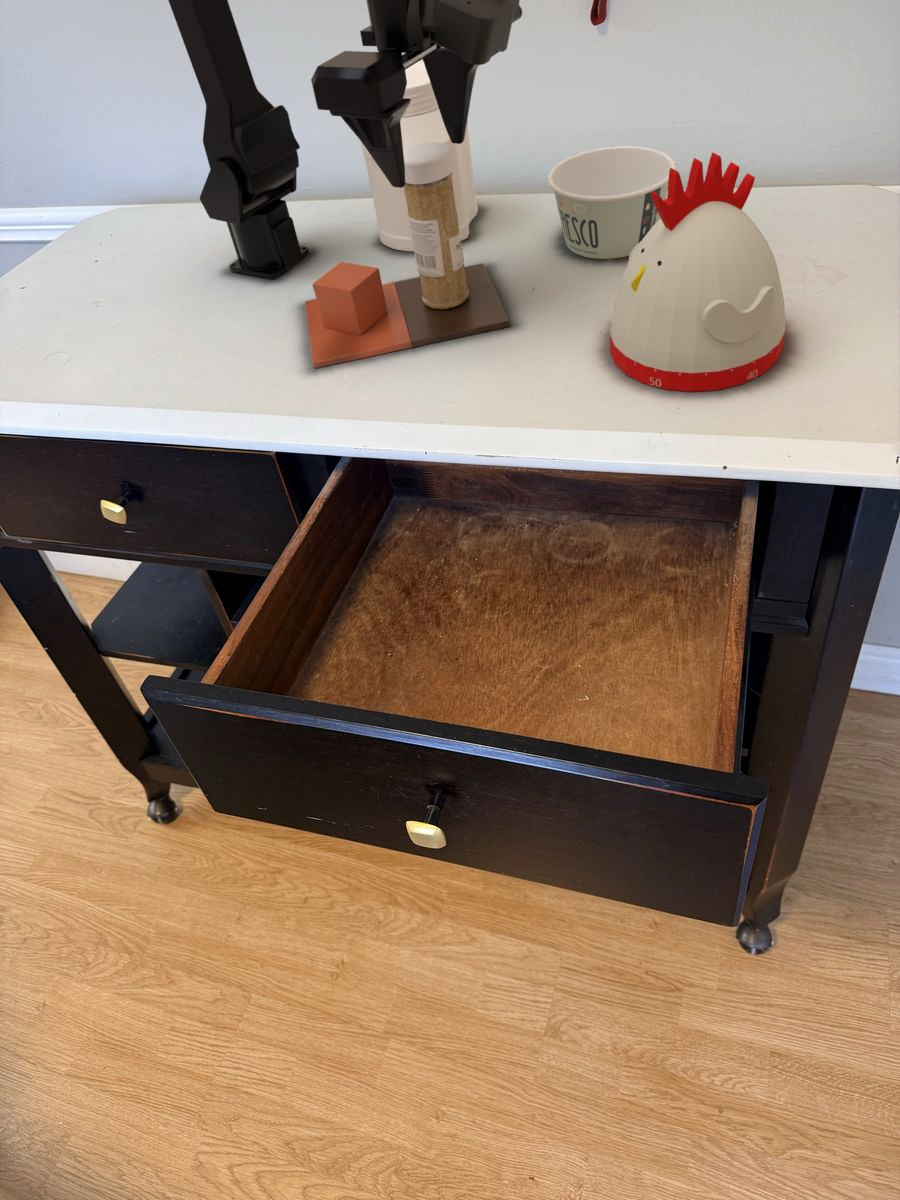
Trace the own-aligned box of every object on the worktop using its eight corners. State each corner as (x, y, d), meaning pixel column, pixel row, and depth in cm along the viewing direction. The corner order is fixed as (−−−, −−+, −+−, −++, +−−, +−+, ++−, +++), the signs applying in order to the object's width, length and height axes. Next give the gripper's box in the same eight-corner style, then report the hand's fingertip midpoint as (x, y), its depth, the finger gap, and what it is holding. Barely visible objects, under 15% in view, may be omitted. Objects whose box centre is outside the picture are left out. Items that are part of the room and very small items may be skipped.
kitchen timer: (582, 332, 79) (576, 153, 68) (721, 286, 81) (736, 106, 70) (663, 411, 69) (671, 217, 59) (818, 357, 71) (853, 161, 61)
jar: (399, 206, 103) (373, 60, 92) (482, 201, 101) (465, 51, 90) (374, 254, 95) (343, 100, 85) (463, 250, 93) (442, 91, 82)
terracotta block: (323, 327, 85) (312, 283, 81) (351, 304, 87) (340, 261, 84) (360, 335, 83) (350, 290, 79) (388, 312, 85) (379, 267, 82)
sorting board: (314, 368, 81) (312, 362, 80) (306, 306, 89) (304, 300, 89) (510, 326, 81) (509, 320, 81) (484, 268, 90) (483, 262, 89)
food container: (696, 223, 90) (700, 155, 85) (628, 276, 85) (628, 206, 80) (596, 202, 96) (595, 138, 92) (527, 250, 91) (522, 184, 86)
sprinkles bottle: (479, 298, 84) (460, 147, 75) (438, 316, 83) (413, 166, 73) (452, 282, 87) (431, 135, 78) (412, 299, 86) (386, 152, 76)
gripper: (417, -24, 56) (451, 223, 67) (555, -97, 66) (565, 128, 77) (282, -22, 61) (335, 207, 72) (430, -91, 71) (456, 120, 82)
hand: (429, 164), depth 76 cm, fingers open, 9 cm apart
